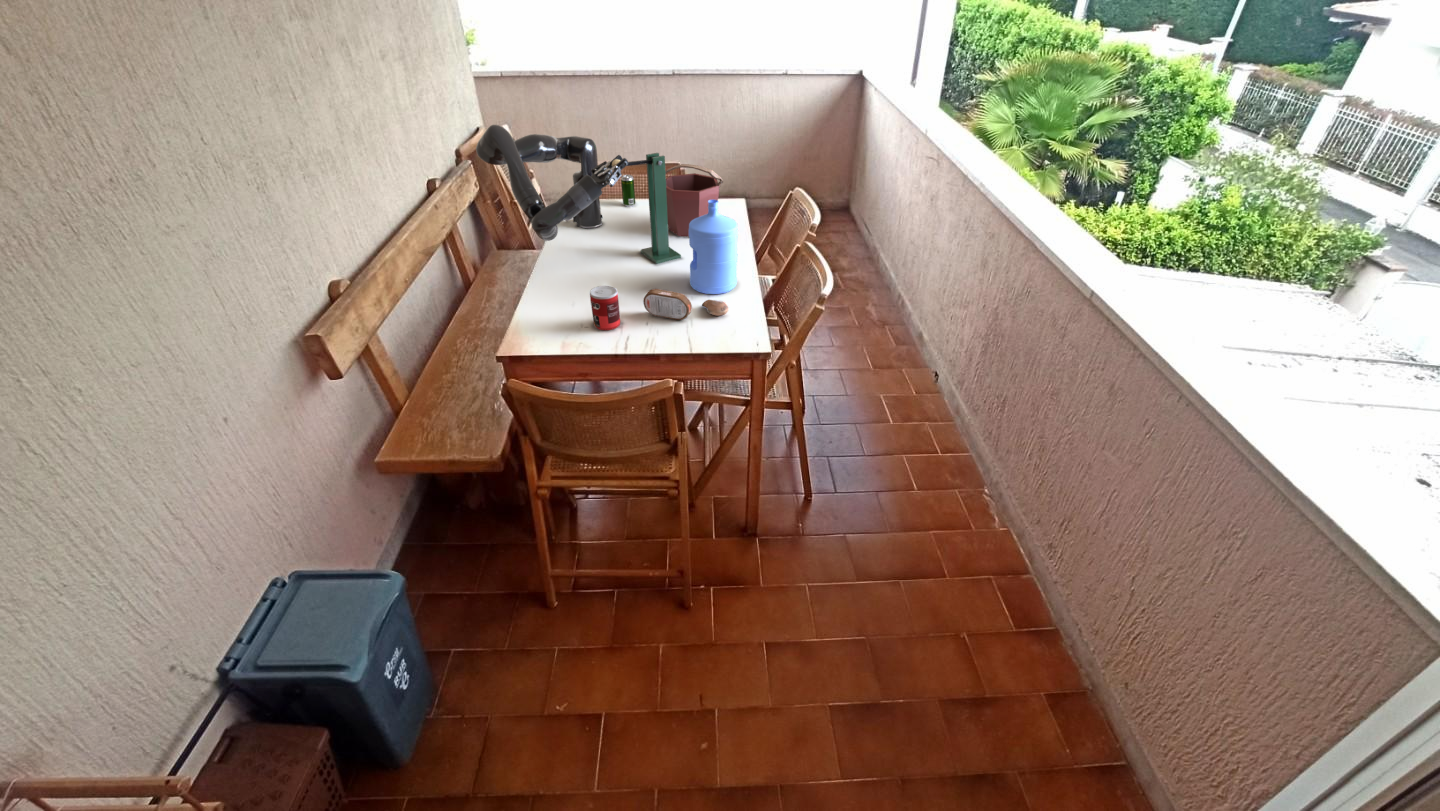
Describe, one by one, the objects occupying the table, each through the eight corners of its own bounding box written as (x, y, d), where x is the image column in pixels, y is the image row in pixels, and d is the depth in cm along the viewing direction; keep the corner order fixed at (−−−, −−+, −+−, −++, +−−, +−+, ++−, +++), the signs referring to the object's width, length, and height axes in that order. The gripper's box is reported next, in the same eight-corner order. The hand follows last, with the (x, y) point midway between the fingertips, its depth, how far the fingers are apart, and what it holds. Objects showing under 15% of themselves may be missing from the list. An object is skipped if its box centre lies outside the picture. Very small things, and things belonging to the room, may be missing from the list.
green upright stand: (656, 264, 227) (650, 162, 206) (640, 253, 235) (633, 153, 214) (681, 258, 231) (677, 157, 210) (664, 247, 239) (659, 148, 218)
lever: (614, 172, 205) (614, 161, 203) (610, 169, 208) (609, 158, 206) (661, 167, 213) (661, 156, 212) (656, 164, 216) (656, 154, 214)
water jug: (744, 279, 217) (746, 197, 200) (724, 299, 206) (725, 213, 189) (702, 271, 222) (701, 190, 206) (681, 289, 211) (678, 205, 194)
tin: (692, 318, 195) (691, 293, 190) (688, 323, 193) (688, 298, 188) (647, 310, 199) (645, 285, 194) (642, 315, 197) (641, 290, 192)
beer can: (638, 205, 276) (636, 176, 269) (627, 207, 274) (625, 179, 267) (631, 201, 280) (629, 173, 273) (620, 204, 277) (618, 176, 270)
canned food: (594, 319, 195) (590, 285, 188) (621, 318, 195) (618, 284, 189) (592, 331, 188) (588, 297, 182) (620, 330, 189) (616, 296, 182)
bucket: (732, 228, 255) (733, 163, 240) (701, 246, 240) (700, 178, 225) (681, 216, 266) (679, 153, 251) (649, 233, 251) (644, 167, 236)
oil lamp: (726, 307, 203) (701, 308, 202) (726, 295, 201) (701, 296, 200) (729, 317, 195) (703, 318, 194) (729, 305, 193) (702, 306, 192)
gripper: (586, 190, 198) (628, 154, 199) (568, 177, 207) (608, 143, 209) (599, 208, 203) (640, 173, 205) (581, 196, 213) (620, 162, 214)
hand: (623, 159), depth 207 cm, fingers closed on lever, 3 cm apart
